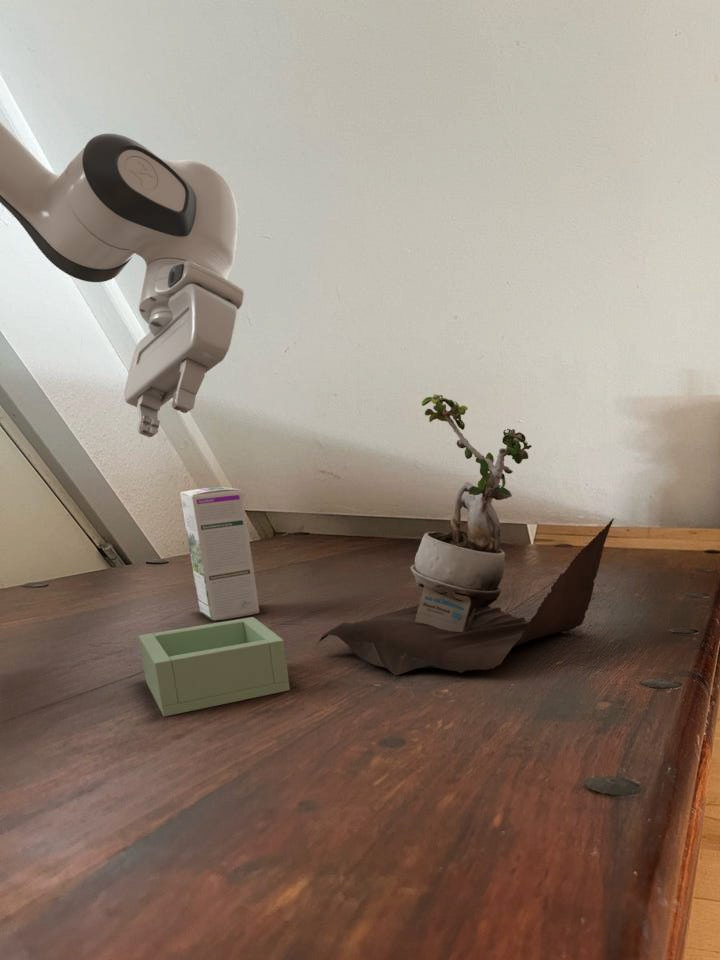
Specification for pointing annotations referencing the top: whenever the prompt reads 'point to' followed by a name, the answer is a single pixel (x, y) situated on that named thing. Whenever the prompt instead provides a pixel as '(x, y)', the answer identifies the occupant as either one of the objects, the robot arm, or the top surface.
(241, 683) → the socket
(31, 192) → the robot arm
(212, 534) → the syrup box
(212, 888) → the top surface
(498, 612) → the potted plant
